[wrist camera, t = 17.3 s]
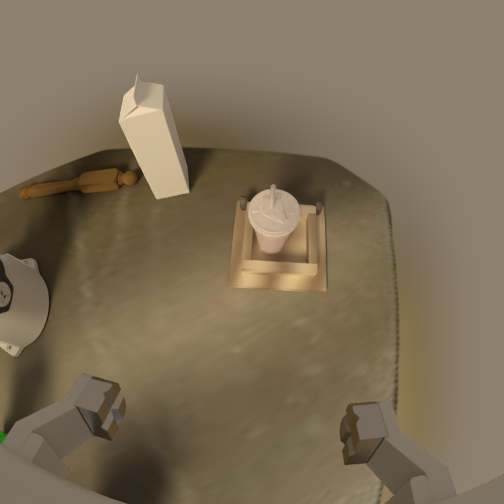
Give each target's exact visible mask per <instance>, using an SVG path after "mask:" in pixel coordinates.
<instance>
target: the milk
mask: <svg viewBox="0 0 504 504" xmlns="http://www.w3.org/2000/svg"><path fill="white" fill-rule="evenodd" d="M119 123H120V126H121V128H122V130H123V132H124V134H125V136H126V138H127V141H128V143H129V145H130V147H131V149H132V151H133V153H134V155H135V157H136V159H137V161H138V163H139V165H140V167H141V169H142V171H143V173H144V175H145V177H146V179H147V181H148V183H149V185H150V187H151V189H152V191H153V193H154V195H155V197H156V199H161V198H166V197H171V196H175V195H180V194H186V193H189V192H190V191H189V180H188V167H187V164H186V160H185V157H184V154H183V150H182V147H181V144H180V140H179V137H178V133H177V130H176V126H175V123H174V120H173V116H172V112H171V109H170V105H169V102H168V98H167V95H166V91H165V87H164V85H161V84H156V83H150V82H145V81H140V77H139V75H138V74H137V76H136V81H135V86H134V87H133V88H131V89H130V90H129V91H128V92H127V93H126V94H125V95H124V97H123V101H122V107H121V112H120V118H119Z"/></svg>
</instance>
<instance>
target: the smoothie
mask: <svg viewBox="0 0 504 504" xmlns="http://www.w3.org/2000/svg"><path fill="white" fill-rule="evenodd" d="M248 217H249V220H250V223H251V225H252V226H253V228H254V229H255V232H256V236H257V239H258V243H259V246H260V248H261V250H262V251H263V252H265V253H267V254H276V253H278V252H280V251H281V250H282V248H283V246H284V245H285V243H286V241H287V239H288V237H289V235H290V233H291V232H292V231H293V230H294V229H295V228H296V227H297V225H298V223H299V220H300V206H299V204H298V202H297V200H296V199H295V198H294V197H293V196H292V195H291V194H289V193H288V192H286V191H283V190H279V189H276V186H275V185H274V184H273V185H271V189H268V190H264V191H262V192H260V193H258V194H257V195H256V196H255V197H254V198H253V199H252V200H251V202H250V205H249V211H248Z"/></svg>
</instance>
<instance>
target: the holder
mask: <svg viewBox="0 0 504 504" xmlns="http://www.w3.org/2000/svg"><path fill="white" fill-rule="evenodd" d="M250 202H251V201H248V200H247V197H246V196H241V197H240V201H237V207H236V216H235V225H234V235H233V244H232V253H231V263H230V273H229V283H228V286H229V287H237V288H252V289H268V290H286V291H306V292H326V240H325V216H324V206H323V205H324V203H323V202H322V201H320V200H318V201H317V202H316V204H315V205H303V204H299V206H300V220H299V223H298V225H297V227H296V228H295V229H294V230H293V231H292V232H291V233H290V235H289V237H288V239H287V241H286V243H285V245H284V246H283V248H282V250H281V251H280V252H278V253H276V254H267V253H265V252H263V251H262V250H261V248H260V246H259V243H258V239H257V236H256V232H255V229H254V228H253V226H252V225H251V223H250V220H249V217H248V211H249V205H250Z"/></svg>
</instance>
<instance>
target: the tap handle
mask: <svg viewBox="0 0 504 504" xmlns="http://www.w3.org/2000/svg"><path fill="white" fill-rule="evenodd" d="M117 181H118V183H117ZM136 181H137V175H136V173H135V172H134V171H132V170H129V171H127V172H126V173H125V174H123V173H122V172H120V171H119V170H118V169H116V168H112V169H105V170H97V171H90V172H84V173H82V175H81V176H80V178H75V179H74V180H66V181H57V182H49V183H41V184H35V185H31V186H25V187H22V188H21V189H20V191H19V195H20V198H21V199H29V198H30V197H31V198H35V197H42V196H46V195H51V194H56V193H61V192H67V191H72V190H75V191H79V190H80V191H81V192H83V193H92V192H102V191H112V190H119V189H120V187H121V186H122V185H123V184H124V183H125V184H126V185H128V186H132V185H134V184H135V183H136ZM118 184H119V185H121V186H119V185H118Z"/></svg>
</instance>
